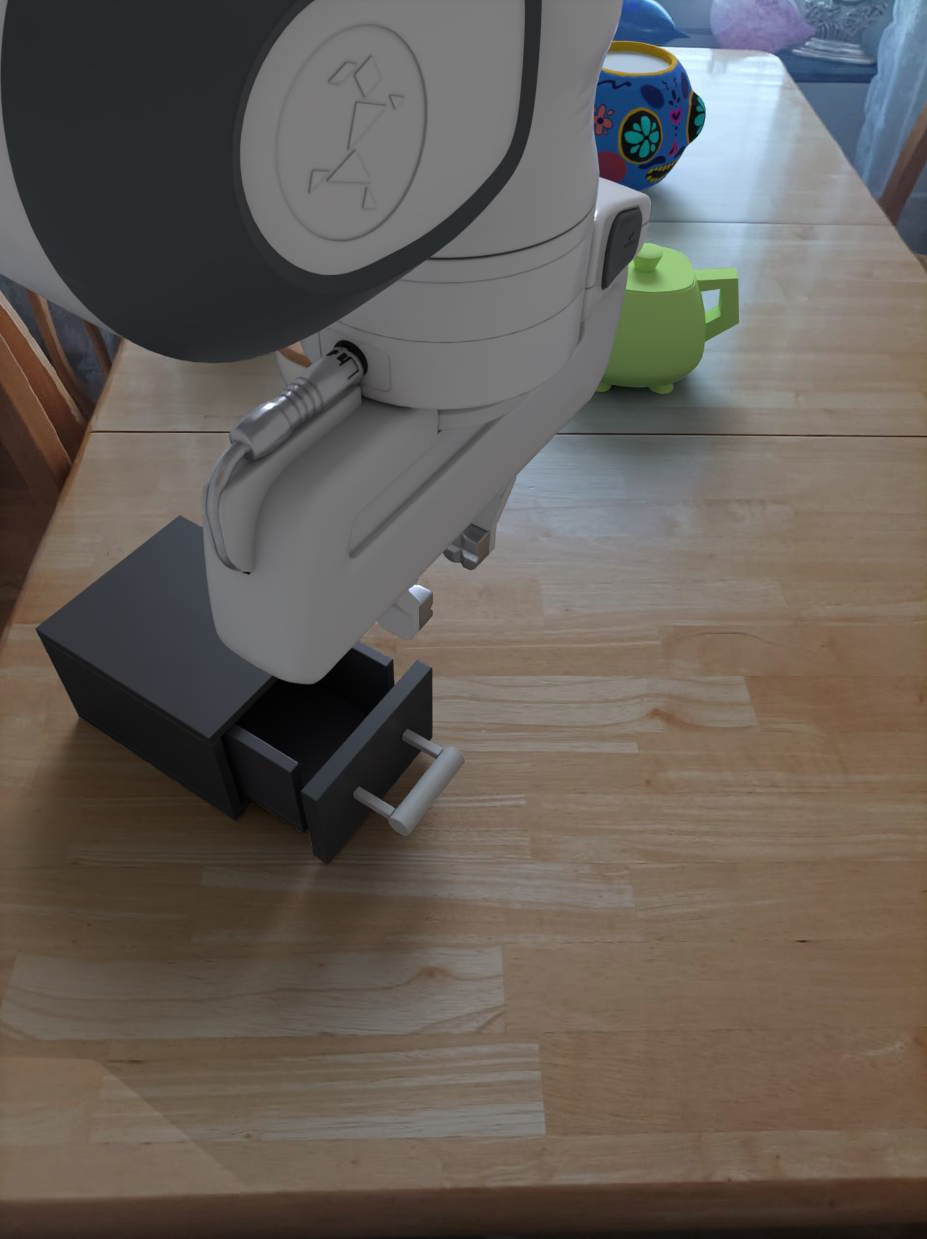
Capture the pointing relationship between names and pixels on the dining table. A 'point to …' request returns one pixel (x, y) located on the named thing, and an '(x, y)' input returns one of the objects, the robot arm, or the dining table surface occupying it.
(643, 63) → the ceramic pot
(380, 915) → the dining table surface
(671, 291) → the teapot
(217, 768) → the cabinet
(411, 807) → the drawer
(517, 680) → the dining table surface
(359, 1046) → the dining table surface
